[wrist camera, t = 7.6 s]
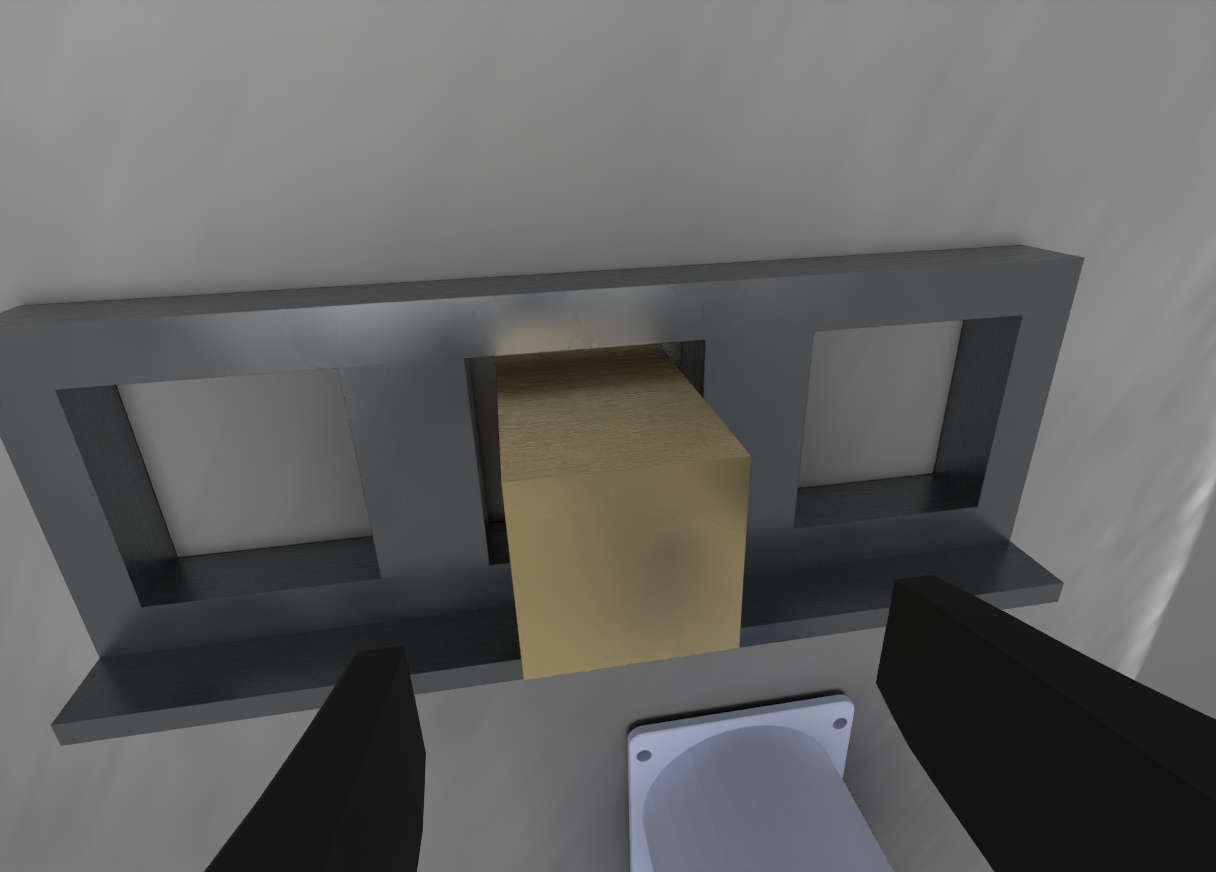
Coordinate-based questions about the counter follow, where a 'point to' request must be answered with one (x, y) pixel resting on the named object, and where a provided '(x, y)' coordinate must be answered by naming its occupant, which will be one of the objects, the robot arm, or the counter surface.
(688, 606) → the brass peg
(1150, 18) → the counter surface
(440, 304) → the charcoal rail
